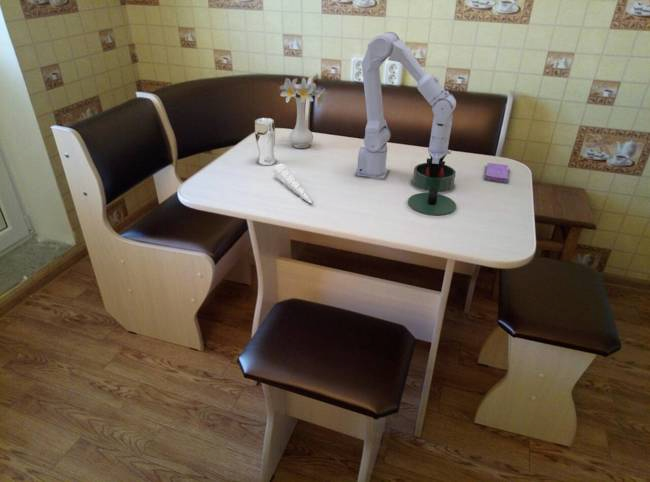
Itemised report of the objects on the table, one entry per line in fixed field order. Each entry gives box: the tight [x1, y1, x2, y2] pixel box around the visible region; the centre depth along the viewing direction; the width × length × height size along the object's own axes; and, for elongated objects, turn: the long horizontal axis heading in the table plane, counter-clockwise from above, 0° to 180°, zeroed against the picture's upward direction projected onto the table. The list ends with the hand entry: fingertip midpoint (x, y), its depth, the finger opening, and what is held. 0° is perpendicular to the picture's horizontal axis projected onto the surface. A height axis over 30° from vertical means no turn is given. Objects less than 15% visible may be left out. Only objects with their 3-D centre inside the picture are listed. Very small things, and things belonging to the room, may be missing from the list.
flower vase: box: [279, 77, 329, 149], centre depth 171 cm, size 13×18×25 cm
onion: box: [425, 167, 444, 178], centre depth 146 cm, size 6×6×8 cm
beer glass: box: [254, 117, 276, 166], centre depth 159 cm, size 7×7×15 cm
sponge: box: [484, 162, 509, 183], centre depth 156 cm, size 7×13×2 cm, turn 160°
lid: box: [407, 188, 457, 217], centre depth 134 cm, size 14×14×5 cm
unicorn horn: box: [272, 163, 313, 205], centre depth 142 cm, size 5×24×5 cm, turn 26°
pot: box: [412, 162, 457, 193], centre depth 147 cm, size 13×13×5 cm
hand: (433, 176), depth 147 cm, fingers closed on onion, 6 cm apart
